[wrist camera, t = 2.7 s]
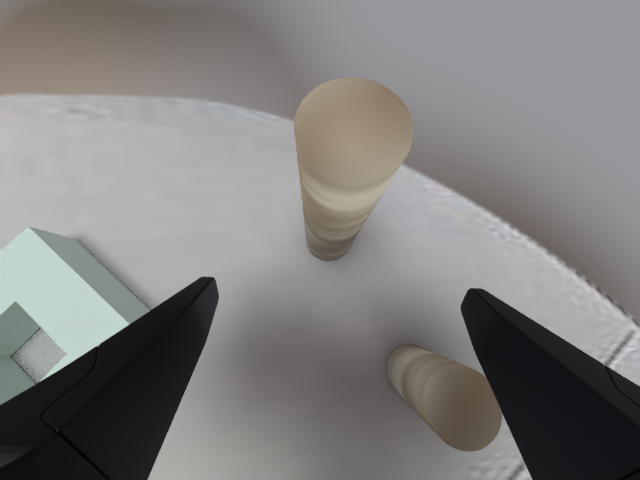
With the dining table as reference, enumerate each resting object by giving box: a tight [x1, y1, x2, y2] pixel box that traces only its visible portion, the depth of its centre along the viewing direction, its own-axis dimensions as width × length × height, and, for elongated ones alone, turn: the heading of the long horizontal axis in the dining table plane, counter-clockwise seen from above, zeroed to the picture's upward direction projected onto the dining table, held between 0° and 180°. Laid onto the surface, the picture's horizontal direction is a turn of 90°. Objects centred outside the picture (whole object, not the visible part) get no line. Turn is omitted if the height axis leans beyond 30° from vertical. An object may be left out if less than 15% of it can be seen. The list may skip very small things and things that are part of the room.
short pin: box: [387, 345, 502, 451], centre depth 16 cm, size 4×4×7 cm
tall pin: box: [294, 78, 413, 261], centre depth 14 cm, size 4×4×14 cm
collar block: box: [0, 227, 151, 405], centre depth 17 cm, size 12×12×4 cm
